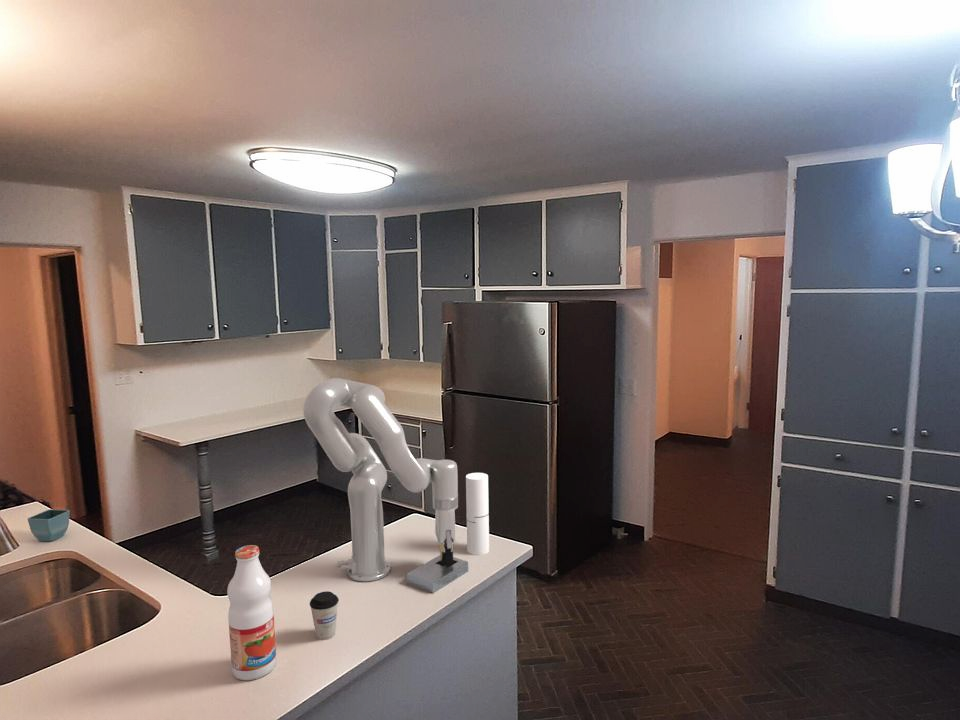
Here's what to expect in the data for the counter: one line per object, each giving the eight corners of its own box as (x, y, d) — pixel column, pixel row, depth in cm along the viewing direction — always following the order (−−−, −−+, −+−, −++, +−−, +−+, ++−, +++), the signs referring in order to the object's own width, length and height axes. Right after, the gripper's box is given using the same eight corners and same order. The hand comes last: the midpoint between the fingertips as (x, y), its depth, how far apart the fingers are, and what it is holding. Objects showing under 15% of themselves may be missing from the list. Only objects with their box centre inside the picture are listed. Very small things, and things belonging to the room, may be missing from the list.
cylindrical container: (489, 555, 188) (488, 479, 185) (466, 555, 188) (465, 479, 185) (489, 545, 195) (488, 472, 192) (467, 545, 195) (466, 472, 192)
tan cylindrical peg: (441, 570, 174) (441, 544, 174) (439, 564, 178) (439, 539, 177) (454, 569, 175) (453, 543, 174) (452, 563, 179) (451, 538, 178)
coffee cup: (309, 630, 147) (307, 592, 146) (337, 624, 150) (335, 586, 149) (313, 645, 141) (311, 606, 139) (342, 638, 143) (340, 599, 142)
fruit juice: (253, 651, 139) (246, 538, 135) (285, 660, 135) (278, 543, 132) (222, 676, 130) (214, 555, 127) (256, 685, 126) (248, 561, 123)
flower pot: (28, 543, 202) (26, 518, 201) (51, 533, 211) (49, 509, 210) (51, 544, 201) (48, 519, 200) (72, 534, 210) (70, 510, 208)
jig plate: (433, 593, 164) (433, 583, 164) (407, 583, 170) (406, 573, 170) (468, 571, 177) (468, 561, 177) (442, 562, 183) (442, 553, 183)
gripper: (429, 493, 182) (431, 550, 184) (436, 513, 165) (437, 575, 168) (453, 491, 183) (454, 548, 185) (462, 510, 167) (463, 572, 169)
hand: (446, 560), depth 176 cm, fingers closed on tan cylindrical peg, 3 cm apart
